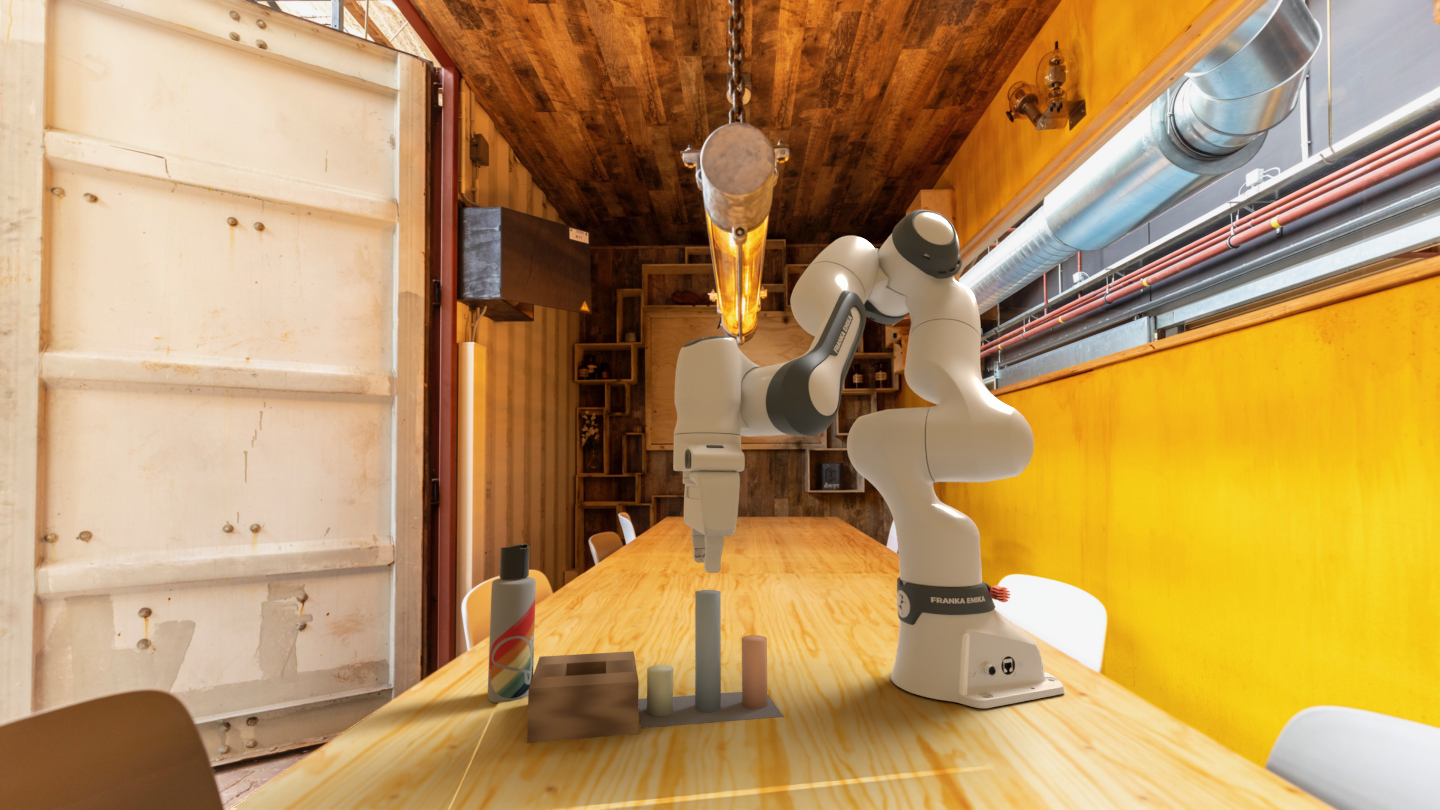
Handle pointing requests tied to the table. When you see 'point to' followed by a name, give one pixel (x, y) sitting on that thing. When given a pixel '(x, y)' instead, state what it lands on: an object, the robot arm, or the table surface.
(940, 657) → the robot arm
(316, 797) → the table surface
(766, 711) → the mat
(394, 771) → the table surface
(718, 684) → the pin long
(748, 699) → the pin medium
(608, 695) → the socket block
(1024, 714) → the table surface
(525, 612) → the lotion bottle
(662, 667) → the pin short
